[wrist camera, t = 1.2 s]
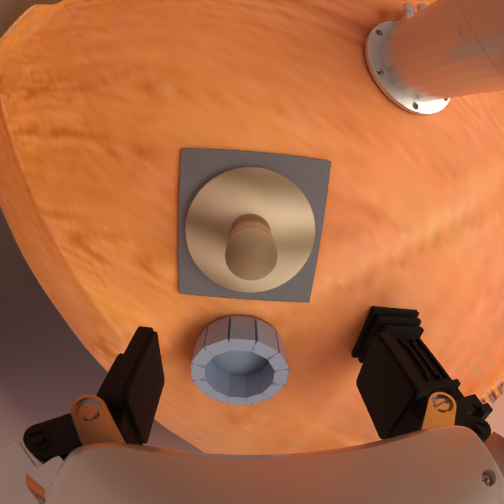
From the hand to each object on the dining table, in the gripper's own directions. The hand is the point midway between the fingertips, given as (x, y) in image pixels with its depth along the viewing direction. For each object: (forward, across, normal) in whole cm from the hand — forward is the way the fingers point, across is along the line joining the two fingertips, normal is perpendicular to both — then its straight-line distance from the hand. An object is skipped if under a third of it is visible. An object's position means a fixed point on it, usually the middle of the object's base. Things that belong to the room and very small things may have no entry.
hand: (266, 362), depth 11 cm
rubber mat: (+19, 0, -1) cm, 19 cm away
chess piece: (+20, -20, +12) cm, 30 cm away
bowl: (+20, 0, +15) cm, 25 cm away
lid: (+19, 0, -1) cm, 19 cm away
